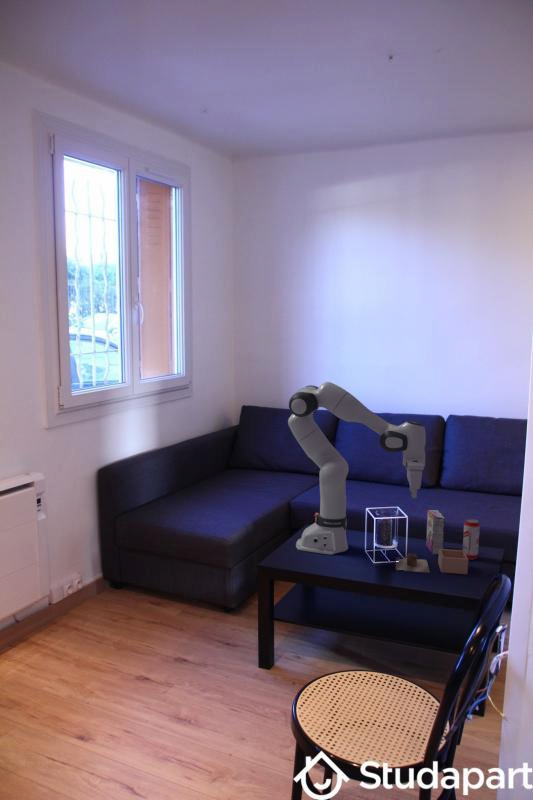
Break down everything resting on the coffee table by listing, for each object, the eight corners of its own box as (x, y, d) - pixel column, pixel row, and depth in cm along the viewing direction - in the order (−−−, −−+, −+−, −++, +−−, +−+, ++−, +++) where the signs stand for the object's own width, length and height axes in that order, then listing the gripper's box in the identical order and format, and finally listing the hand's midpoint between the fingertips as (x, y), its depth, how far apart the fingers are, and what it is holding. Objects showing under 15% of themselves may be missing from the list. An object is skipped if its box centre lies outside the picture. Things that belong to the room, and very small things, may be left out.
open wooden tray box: (441, 572, 248) (442, 557, 247) (438, 562, 258) (438, 548, 257) (467, 574, 246) (468, 559, 246) (463, 564, 256) (464, 550, 255)
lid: (396, 571, 249) (396, 559, 248) (394, 559, 262) (395, 548, 261) (429, 574, 247) (430, 562, 246) (426, 562, 260) (427, 550, 259)
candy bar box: (425, 545, 278) (427, 509, 276) (436, 545, 278) (438, 509, 276) (431, 554, 267) (433, 517, 265) (443, 555, 267) (445, 517, 265)
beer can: (475, 555, 267) (478, 518, 265) (479, 560, 261) (481, 523, 259) (460, 554, 268) (462, 518, 266) (463, 559, 262) (466, 522, 260)
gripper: (404, 455, 265) (403, 487, 266) (407, 466, 245) (407, 500, 246) (419, 456, 264) (418, 488, 266) (424, 466, 244) (423, 501, 245)
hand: (413, 494), depth 256 cm, fingers open, 8 cm apart
